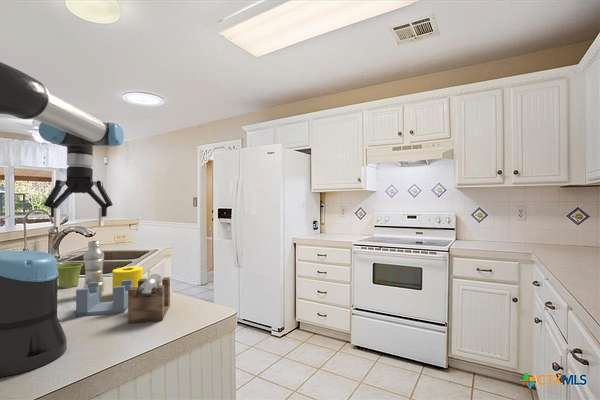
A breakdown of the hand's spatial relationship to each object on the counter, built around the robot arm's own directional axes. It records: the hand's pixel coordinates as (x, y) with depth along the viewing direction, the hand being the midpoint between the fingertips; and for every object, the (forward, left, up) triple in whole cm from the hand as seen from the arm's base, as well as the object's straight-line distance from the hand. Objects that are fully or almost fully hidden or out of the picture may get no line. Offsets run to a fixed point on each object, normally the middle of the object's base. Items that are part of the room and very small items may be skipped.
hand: (79, 226), depth 107 cm
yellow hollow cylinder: (+2, -15, -26) cm, 30 cm away
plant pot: (+20, +12, -26) cm, 35 cm away
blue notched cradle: (-14, -13, -26) cm, 32 cm away
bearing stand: (-22, -28, -26) cm, 44 cm away
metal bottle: (+4, -3, -26) cm, 27 cm away
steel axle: (-22, -28, -19) cm, 40 cm away
